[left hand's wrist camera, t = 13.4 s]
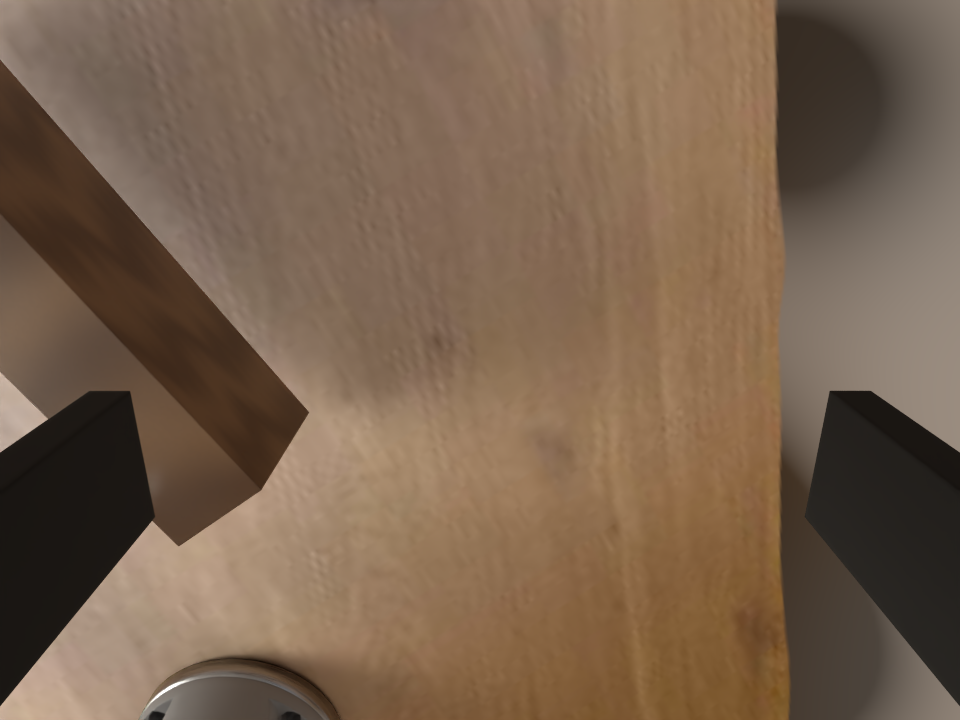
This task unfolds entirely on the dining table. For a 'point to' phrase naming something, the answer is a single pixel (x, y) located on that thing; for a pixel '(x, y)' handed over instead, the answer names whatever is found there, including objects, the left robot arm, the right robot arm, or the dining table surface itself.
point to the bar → (127, 328)
